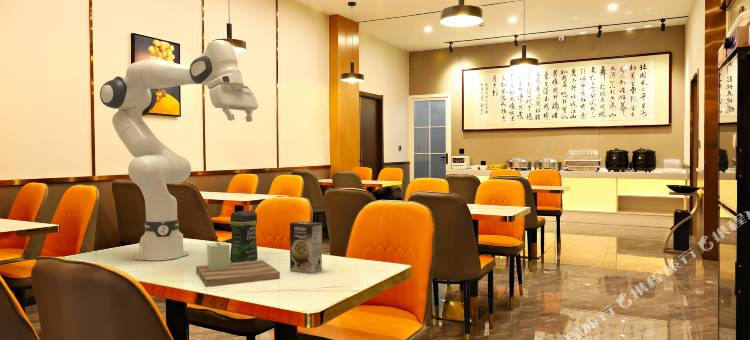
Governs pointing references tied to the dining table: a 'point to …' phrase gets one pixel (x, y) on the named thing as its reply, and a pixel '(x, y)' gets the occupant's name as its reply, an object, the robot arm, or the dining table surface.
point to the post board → (238, 273)
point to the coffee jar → (243, 236)
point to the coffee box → (305, 247)
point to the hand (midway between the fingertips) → (240, 120)
